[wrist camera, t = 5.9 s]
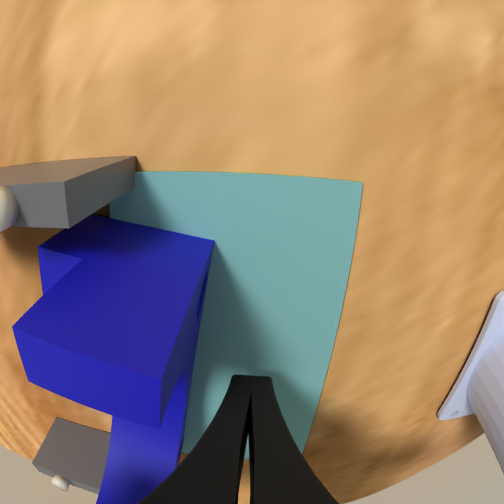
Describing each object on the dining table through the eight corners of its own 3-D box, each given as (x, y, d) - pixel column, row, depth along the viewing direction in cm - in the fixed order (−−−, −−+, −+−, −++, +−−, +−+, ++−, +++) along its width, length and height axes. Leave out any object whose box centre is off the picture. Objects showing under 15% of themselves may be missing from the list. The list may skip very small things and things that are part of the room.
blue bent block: (88, 213, 10) (-35, 303, 4) (214, 240, 10) (161, 379, 5) (105, 421, 15) (70, 507, 9) (182, 444, 15) (162, 538, 9)
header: (135, 156, 9) (47, 188, 5) (177, 454, 15) (162, 520, 11) (-23, 171, 9) (-102, 203, 5) (61, 426, 16) (35, 478, 11)
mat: (361, 182, 9) (362, 182, 9) (299, 459, 15) (300, 460, 15) (108, 172, 9) (106, 172, 9) (159, 447, 15) (159, 449, 15)
